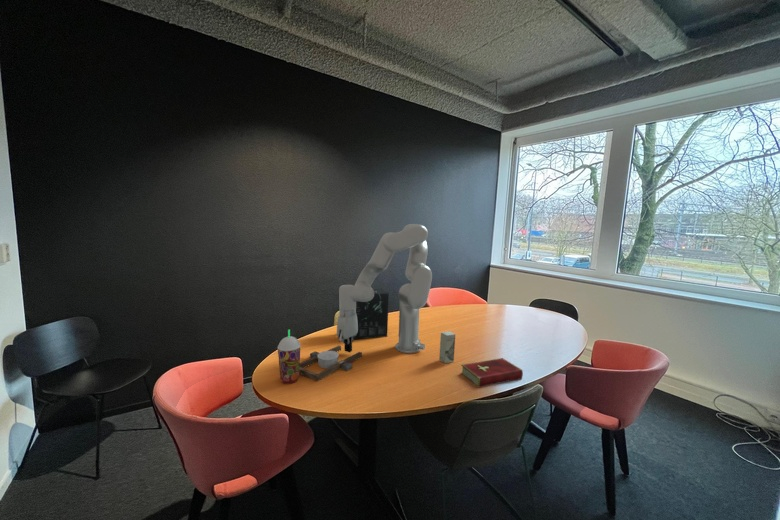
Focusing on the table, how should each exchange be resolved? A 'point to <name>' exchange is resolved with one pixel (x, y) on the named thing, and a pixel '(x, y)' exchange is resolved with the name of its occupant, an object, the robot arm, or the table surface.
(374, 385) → the table surface
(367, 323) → the headset box
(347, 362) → the beam track
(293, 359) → the smoothie
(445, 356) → the box
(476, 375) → the hardcover book
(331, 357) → the ramekin
